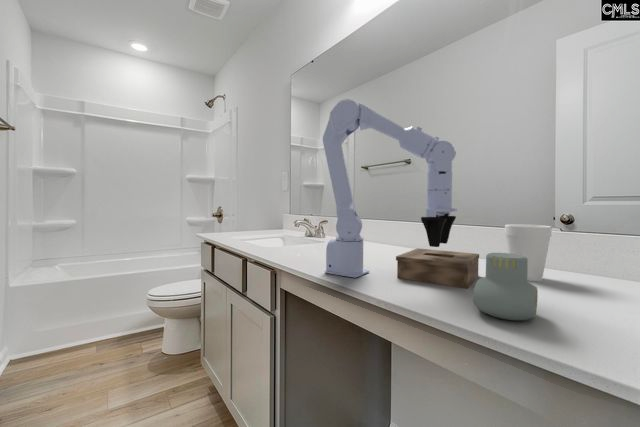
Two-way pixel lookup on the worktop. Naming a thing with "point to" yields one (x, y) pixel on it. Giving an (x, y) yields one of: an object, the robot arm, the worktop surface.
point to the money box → (438, 267)
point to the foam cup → (530, 246)
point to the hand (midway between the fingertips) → (438, 244)
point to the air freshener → (506, 288)
